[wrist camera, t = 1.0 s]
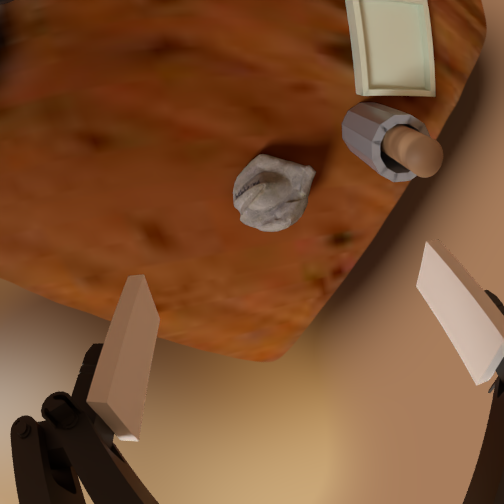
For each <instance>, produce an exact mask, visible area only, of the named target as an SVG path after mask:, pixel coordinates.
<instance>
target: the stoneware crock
mask: <svg viewBox="0 0 504 504" xmlns="http://www.w3.org/2000/svg"><path fill="white" fill-rule="evenodd" d="M396 124H402V125H404V126H406V127H409V128H411V129H413V130H415V131H418V132H420V133H422V134H424V135H426V136H428V137H430V135H429V133H428V130H427V128H426V126H425V124H424V123H422V122H421V121H420V120H418V119H417V118H415V117H414V116H412V115H410V114H408V113H405V112H402V111H399V110H396V109H394V108H391V107H388V106H385V105H382V104H379V103H375V102H361V103H359V104H357V105H356V106H354V107H353V108H351V109H350V110H348V112H347V114H346V116H345V118H344V120H343V122H342V137H343V140H344V142H345V143H346V145H347V146H348V148H349V149H350V151H351V152H353V153H354V154H355V155H356V156H358V157H359V158H360V159H362V160H363V161H364V162H365V163H366V164H368V165H369V166H370V167H371V168H373V169H374V170H375V171H376V172H377V173H379V174H380V175H382V176H384V177H385V178H387V179H389V180H391V181H393V182H401V181H410V180H411V179H413V178H414V177H415V176H417V175H416V174H414V173H413V172H412V171H410V170H409V169H407V168H406V167H404V166H403V165H402V164H400V163H399V162H397V161H396V160H394V159H393V158H391V157H390V156H388V155H387V154H385V153H384V152H382V151H381V150H380V143H381V141H382V139H383V137H384V135H385V133H386V131H388V130H389V129H390V128H392V127H393V126H395V125H396ZM430 138H431V137H430Z"/></svg>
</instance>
